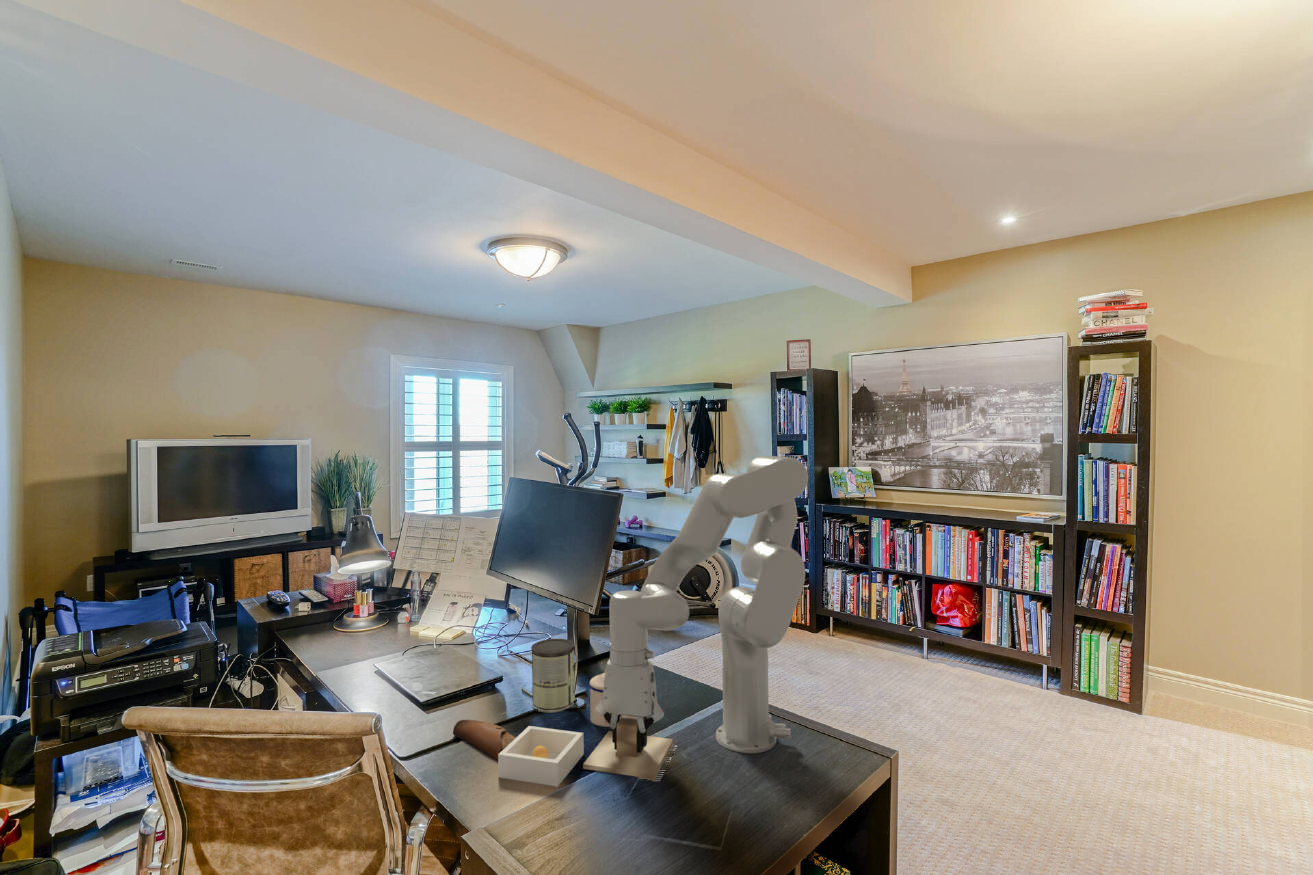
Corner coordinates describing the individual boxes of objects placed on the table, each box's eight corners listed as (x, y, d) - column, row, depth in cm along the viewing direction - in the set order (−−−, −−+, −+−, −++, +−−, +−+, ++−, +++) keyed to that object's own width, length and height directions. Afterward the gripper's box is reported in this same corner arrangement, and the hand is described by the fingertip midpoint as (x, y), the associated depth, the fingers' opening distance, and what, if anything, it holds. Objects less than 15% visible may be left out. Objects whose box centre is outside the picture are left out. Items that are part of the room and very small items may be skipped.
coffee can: (527, 699, 152) (526, 642, 152) (567, 692, 156) (567, 636, 157) (538, 716, 143) (537, 655, 143) (581, 707, 147) (580, 648, 147)
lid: (673, 744, 128) (672, 709, 128) (653, 780, 115) (653, 741, 115) (609, 736, 132) (608, 702, 132) (583, 770, 118) (582, 732, 118)
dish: (583, 758, 124) (583, 732, 124) (557, 790, 112) (557, 762, 112) (529, 750, 127) (528, 725, 127) (498, 781, 116) (498, 754, 116)
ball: (550, 759, 122) (550, 743, 122) (543, 766, 119) (543, 751, 119) (536, 757, 123) (536, 741, 123) (529, 764, 120) (529, 749, 120)
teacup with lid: (607, 734, 134) (606, 680, 134) (581, 721, 140) (580, 669, 140) (647, 717, 142) (647, 665, 142) (621, 705, 148) (621, 656, 149)
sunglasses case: (534, 749, 127) (520, 726, 125) (509, 778, 123) (494, 756, 120) (486, 723, 140) (472, 702, 137) (462, 749, 135) (447, 727, 133)
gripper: (674, 652, 125) (675, 744, 124) (596, 645, 129) (597, 734, 129) (664, 665, 117) (665, 763, 117) (582, 657, 122) (583, 751, 122)
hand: (629, 746), depth 123 cm, fingers closed on lid, 4 cm apart
